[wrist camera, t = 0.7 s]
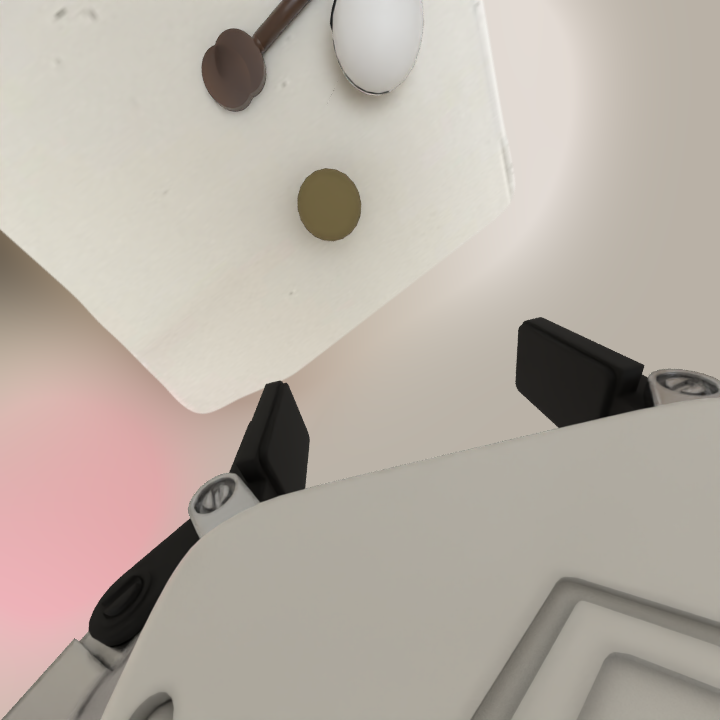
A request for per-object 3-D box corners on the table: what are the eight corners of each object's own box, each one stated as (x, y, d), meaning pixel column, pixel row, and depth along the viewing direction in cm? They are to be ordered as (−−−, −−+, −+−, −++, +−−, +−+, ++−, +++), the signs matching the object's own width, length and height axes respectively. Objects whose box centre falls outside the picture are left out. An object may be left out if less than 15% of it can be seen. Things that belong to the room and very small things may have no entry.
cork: (354, 175, 30) (366, 155, 20) (358, 236, 32) (370, 244, 23) (298, 179, 29) (282, 161, 20) (307, 241, 32) (297, 251, 22)
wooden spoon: (232, 122, 27) (228, 118, 26) (196, 75, 25) (189, 68, 24) (364, -23, 23) (366, -35, 22) (332, -91, 22) (332, -107, 20)
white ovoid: (381, -29, 23) (401, -125, 17) (424, 71, 26) (454, 23, 20) (292, 63, 25) (278, 9, 19) (341, 145, 28) (345, 123, 22)
